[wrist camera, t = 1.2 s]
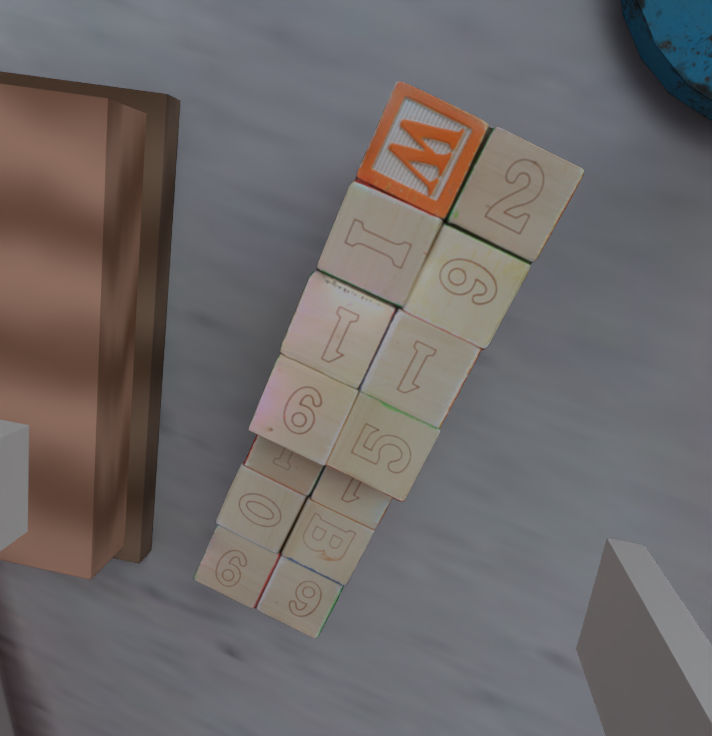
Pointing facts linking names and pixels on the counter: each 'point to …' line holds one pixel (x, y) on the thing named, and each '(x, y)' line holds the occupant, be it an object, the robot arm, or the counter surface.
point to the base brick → (85, 310)
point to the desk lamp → (676, 46)
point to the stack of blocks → (381, 348)
